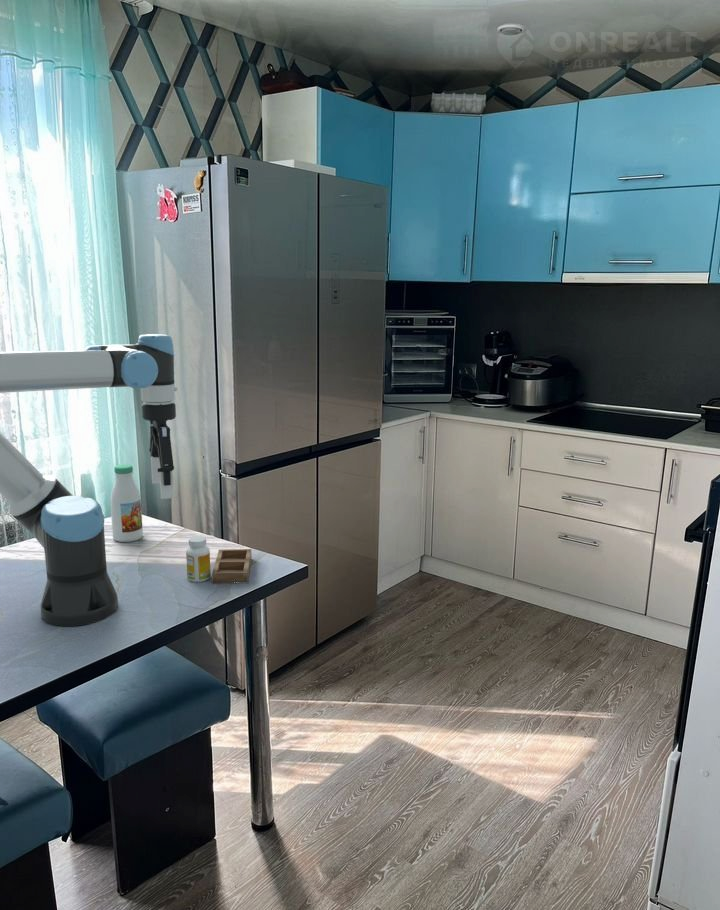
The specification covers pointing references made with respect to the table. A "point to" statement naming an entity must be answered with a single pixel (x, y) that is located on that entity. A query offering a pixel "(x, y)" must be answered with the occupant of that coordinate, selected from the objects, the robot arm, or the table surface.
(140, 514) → the milk bottle
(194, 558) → the supplement bottle
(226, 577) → the compartment tray
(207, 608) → the table surface
